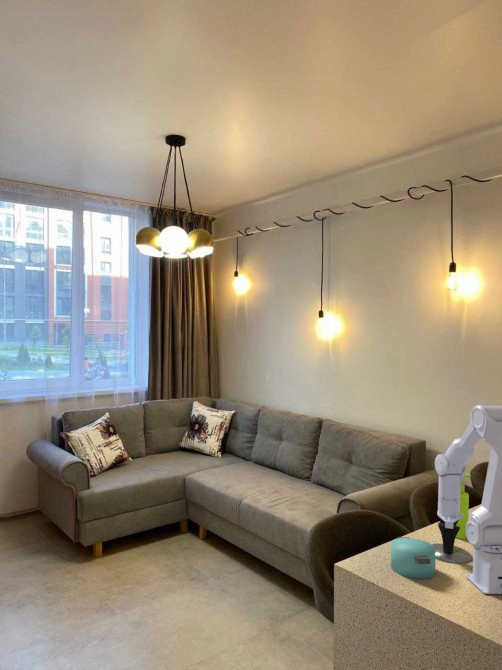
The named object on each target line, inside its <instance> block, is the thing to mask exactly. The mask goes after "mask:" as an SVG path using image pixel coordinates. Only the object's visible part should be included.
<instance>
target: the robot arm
mask: <svg viewBox="0 0 502 670" xmlns="http://www.w3.org/2000/svg"><path fill="white" fill-rule="evenodd" d="M469 421H470V423H469V424H468V425H467V428H466V430H465V431H464V433H463V435H462V437H459V438H454V439H453V441H452V443H451V444H450V446H448V449H446V451H445V452H444V453H442V454H441V453H439V454H436V457H435V459H434V468H435V471H436V473H437V475H438V491H437V493H438V494H437V495H438V496H437V499H438V501H437V512H436V513H437V514H436V515H437V519H438V520H439V522H437V526H438V528H439V531H440V534H441V538H442V544H443V546H444V550H449V551H452V550H453V547H454V546H455V541H456V539H457V538H456V535H457V533H458V532H459V530H460V527H458V526H456V525H457V523H458V521H459V519H460V518H462V519H464V514H460V482H462V481H463V478H464V475H463V474H464V473H465V472H466V467H465V466H466V464H467V463H468V461H469V460H470V458H471V457H472V456H473V455H474V453H475V448H474V446H476V445H477V444H478V442H479V441H480V440H481V439H482V440H483V442H484V443H486V444H488V445H489V446H490V456H489V460H488V465H487V470H486V476H485V481H484V489H483V495H482V499H481V505H480V506H479V507H477V508H476V509H475V510H473V511H472V512H471V513H470V518H469V519H468V522H467V525H466V536H467V538H466V540H468V542H469V544H470V545H471V546H472V547H473V550H472V573H470V574H467V573H466V574H465V577H466V578H467V579H468V580H469V581H470V582H471V583H472V584H473V585H474V586H475V587H477V588H478V589H479V590H480V591H481V592H482V593H483V594H484V595H502V405H483V404H477V405H475V406H474V407H473V408H472V410H471V412H469ZM463 482H464V481H463Z"/></svg>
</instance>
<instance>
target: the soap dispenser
mask: <svg viewBox="0 0 502 670" xmlns="http://www.w3.org/2000/svg"><path fill="white" fill-rule="evenodd" d="M463 477H465V478H467V477H472V475H471V474H470V473H468V472H466V471H465V473H464V474H463ZM465 483H466V482H464V481H462V482H460V514H464V519H462V518H460V519H459V521H458V523H457V525H456V526H458V527H460V530H459V532H458V533H457V535H456V538H455V539H460V540H461V539H462V540H465V539H466V540H467V536H466V525H467V522H468V521H469V509H470V507H469V506H470V505H469V503H470V501H469V500H470V499H469V498H470V495H469V493H468V492H466V491H465V490H466V489H465V488H466V487H465V486H466V484H465Z"/></svg>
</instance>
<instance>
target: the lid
mask: <svg viewBox="0 0 502 670" xmlns="http://www.w3.org/2000/svg"><path fill="white" fill-rule="evenodd" d="M431 544H432V545H433V546H434V547H435V549H436V558H435V560H437V561H441V562H445V563H450V564H465V563H469V562H470V561H471V560H472V555H471V553H470V552H469V551H467V550H466V549H464V548H461V547H459V546H457V545H454V547H453V550H452V551H449V550H444V546H443V543H431Z"/></svg>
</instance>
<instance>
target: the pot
mask: <svg viewBox="0 0 502 670" xmlns="http://www.w3.org/2000/svg"><path fill="white" fill-rule="evenodd" d="M432 544H433V543H430V542H427V541H425V540H423V539H422V540H421V539H417V538H412V537H408V536H407V537H406V536H405V537H404V536H398V537H397V538H395V539H393V540H392V541H391V546H390V548H391V550H390V551H391V552H390V554H391V555H390V568H391V569H392V571H393V572H395V573H397V574H398V575H400V576H403V577H406V578H410V579H417V580H418V579H419V580H425V579H426V580H427V579H430V578H433V577H434V576H435V575H436V559H435V558H436V549H435V547H434V546H433V545H432Z"/></svg>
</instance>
